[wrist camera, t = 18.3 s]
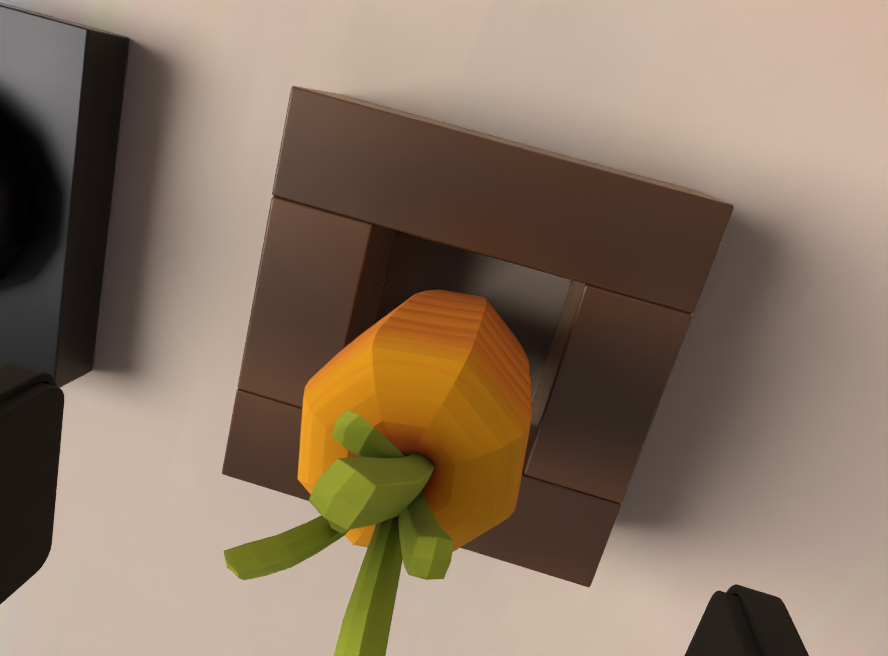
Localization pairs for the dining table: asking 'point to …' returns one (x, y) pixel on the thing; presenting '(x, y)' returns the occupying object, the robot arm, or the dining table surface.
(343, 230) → the holder
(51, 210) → the panel
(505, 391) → the carrot
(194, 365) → the dining table surface
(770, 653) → the robot arm
